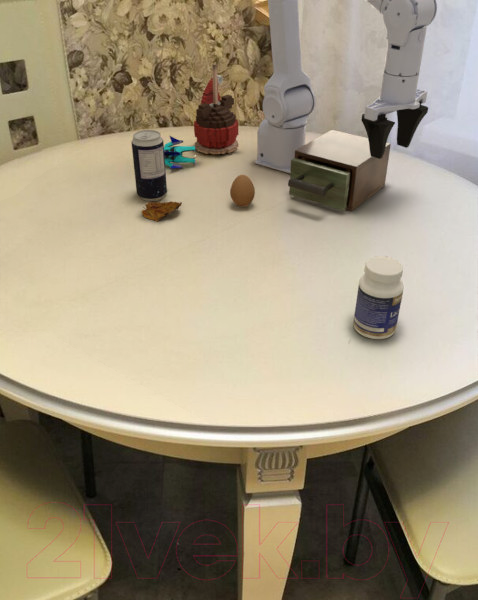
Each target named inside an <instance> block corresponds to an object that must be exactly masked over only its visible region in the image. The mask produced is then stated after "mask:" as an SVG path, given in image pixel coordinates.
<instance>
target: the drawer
mask: <svg viewBox="0 0 478 600" xmlns="http://www.w3.org/2000/svg"><path fill="white" fill-rule="evenodd" d="M351 178H352V170H350V169H347V168H343V167H339V166H335V165H332V164H328V163H324V162H321V161H317V160H313V159H309V158H306V157H302V160H301V159H297V158H293V159H292V160H291V171H290V173H289V180H288V183H287V185H288V187H289V191H288V192H289V193H288V194H289V195H290V196H294V197H297V198H300V199H304V200H307V201H310V202H313V203H316V204H319V205H323V206H326V207H329V208H333V209H336V210H340V211H345V209H346V207H347V202H349V196H350V187H351Z"/></svg>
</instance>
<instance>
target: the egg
mask: <svg viewBox="0 0 478 600" xmlns="http://www.w3.org/2000/svg"><path fill="white" fill-rule="evenodd" d="M254 185H255V184H254V183H253V181H252V179H251V178H250V177H249V176H248V175H246V174H239V175H237V176H236V177H235V178H234V179H233V182H232V184H231V186H230V191H229V192H230V193H229V194H230V199H231V201H232V202H233V204H235V205H236V206H238V207H241V208H242V207H247V206H249V205H250V204H251V203H252V202H253V200H254V199H255V196H256V190H255V189H256V188H255V186H254Z"/></svg>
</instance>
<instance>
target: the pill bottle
mask: <svg viewBox="0 0 478 600" xmlns="http://www.w3.org/2000/svg"><path fill="white" fill-rule="evenodd" d="M364 264H365V265H364V268H363V269H364V271H363V272H364V273H363V274H362V276H360V277H359V281H358V287H357V295H356V300H355V307H354V308H355V309H354V314H353V323H352V324H353V327H354V329H355V331H356V332H357V333H358V334H360V335H361V336H363V337H366V338H368V339H373V340H384V339H387V338H390V337H391V336H393V335H394V334H395V333H396V331H397V326H398V320H399V316H400V309H401V305H402V299H403V295H404V282H403V280H402V278H403V272H404V266H403V264H402V263H401V262H400V261H399V260H398V259H396V258H393V257H389V256H385V255H384V256H383V255H381V256H380V255H379V256H372V257H369V258H368V259H367V260H366V262H365V263H364Z"/></svg>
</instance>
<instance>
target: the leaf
mask: <svg viewBox="0 0 478 600" xmlns="http://www.w3.org/2000/svg"><path fill="white" fill-rule="evenodd" d="M182 204H183V201H181V202H176V201H167V202H165V201H164V202H163V201H162V202H161V201H157V202H156V201H147V203H146V204H145V207H144V206H142V208H144V209H142V210H141V214H142V217H144V218H145V219H149V220H150V221H156V222H159V221H160V220H161V219H162V217H167V216H168V215H169V214H171V213H172V212H174V211H176V210H177V211H178V210H179V208H180V207H181V206H182Z"/></svg>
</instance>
